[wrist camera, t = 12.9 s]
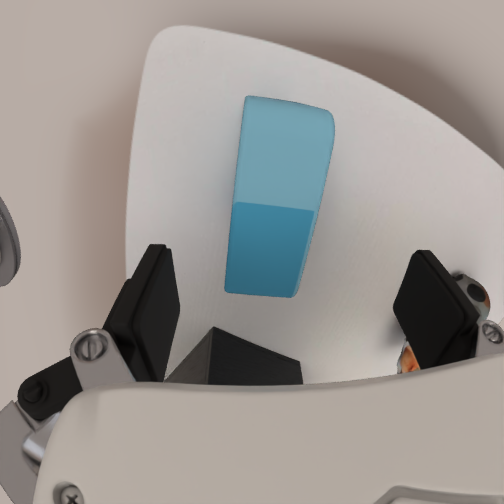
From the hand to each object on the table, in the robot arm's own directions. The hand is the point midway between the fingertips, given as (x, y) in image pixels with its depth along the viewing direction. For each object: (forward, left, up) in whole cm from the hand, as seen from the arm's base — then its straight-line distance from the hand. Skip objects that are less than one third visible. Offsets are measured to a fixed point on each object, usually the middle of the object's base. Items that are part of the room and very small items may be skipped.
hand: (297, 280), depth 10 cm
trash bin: (-4, -32, -17) cm, 37 cm away
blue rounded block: (0, 0, -17) cm, 17 cm away
